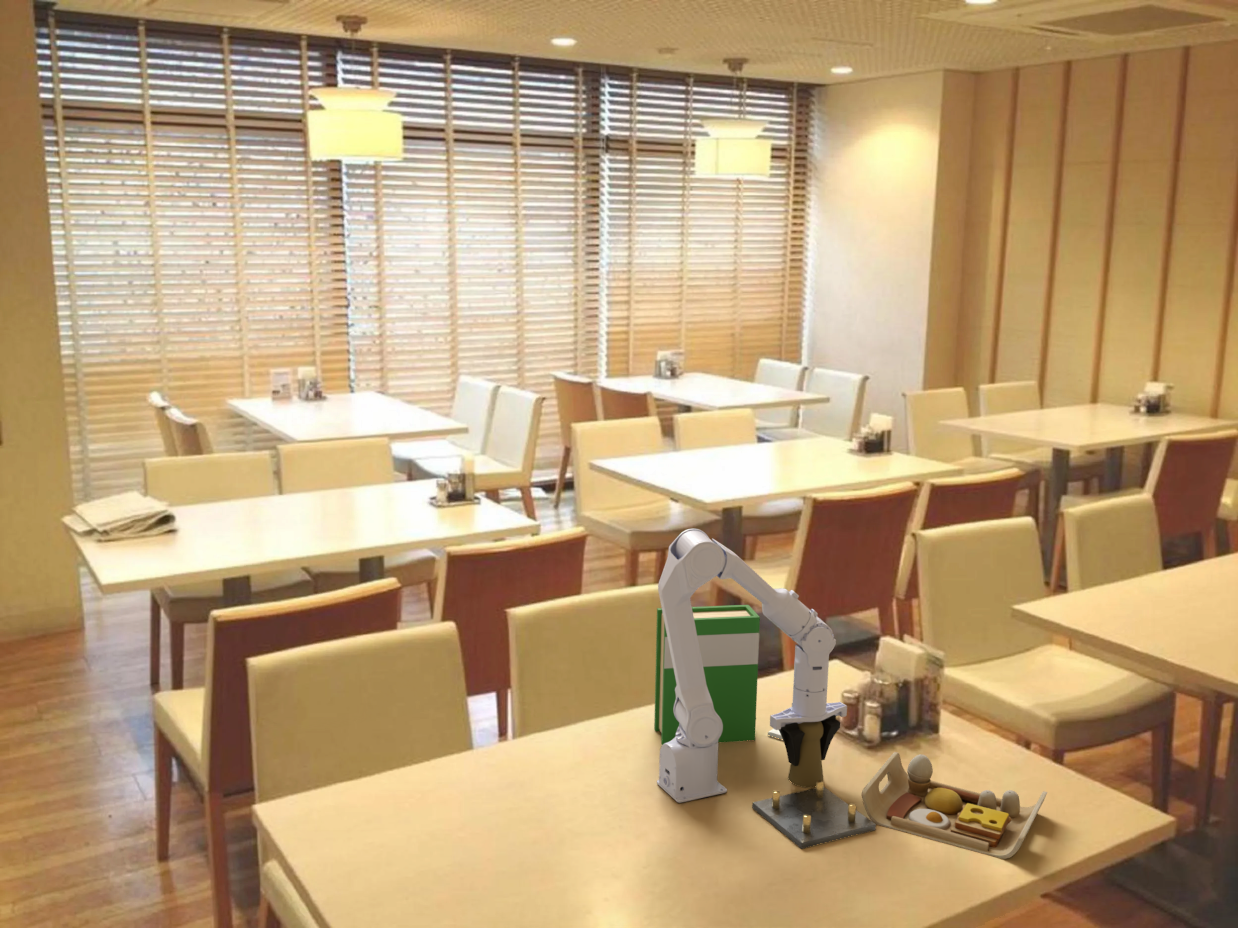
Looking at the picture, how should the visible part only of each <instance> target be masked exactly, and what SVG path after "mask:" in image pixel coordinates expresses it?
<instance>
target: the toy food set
mask: <svg viewBox="0 0 1238 928" xmlns="http://www.w3.org/2000/svg"><path fill="white" fill-rule="evenodd" d="M933 769H934V768H933V765H932V762H931V760H930V758H929V757H928V756H927V755H925V754H921V753H920V754H917V755H915V756H914V757H913V758H912V759H911V760H910V761H909V763H908V766H907V769H906V770H905V769H904V767H903V764H902V760H901V754H900V753H899V752H896V751H893V753H892V754H891V755H890V757H889V758H887V760H886V761H885V763H883V765H882V766H881V768H879V770H878V771H877V772H876V773H875V774H874V776H873V777H872V778H871V779H870V781H869V782H868V783H866V785H865V786H864V788H863V789H862V791H861V800H862V804H863V807H864V809H865V812H866V813H867V816H868V817H869V820H871V821H872V822H873V823H875V824H876V826H880V827H881V826H882V827H885V828H888V827H889V828H888V829H891V830H892V829H893V830H896V831H900V832H902V833H906V832H907V834H910V833H911V835H914V836H917V835H918V837H921V836H922V837H921V838H924V839H928V840H933V841H936V842H940V843H943V844H946V845H950V846H954V847H957V848H958V847H959V848H962V849H966V850H969V851H973V852H975V853H976V852H977V853H979V854H984V855H987V856H990V857H993V858H994V857H995V858H998V859H1001V860H1006V859H1009V858H1011V857H1013V856H1015V855H1016V853H1018V851H1019V850H1020V848H1021V846H1022V845H1023V842H1024V841H1025V839H1026V837H1027V834H1028V833H1029V831H1030V828H1031V827H1032V824H1033V823H1034V820H1035V818H1036V817H1037V815H1038V813H1039V811H1040V809H1041V807H1042V805H1043V803H1044V801H1045V799H1046V796H1047V794H1048V792H1047V791H1045V790H1044V791H1042V792H1041V794H1040V796H1039V797H1038V800H1037V801H1036V803H1034V805H1032V806H1021V805H1020V804H1021V803H1020V796H1019V794H1018V793H1017V792H1016V791H1015V790H1010V789H1009V790H1006V791H1004V792H1003V794H1002V798H999V797H997V796H996V794H995V793H994V792H993V791H991V790H990V789H986V790H982V791H981V793H980V792H976V791H973V790H968V789H965V788H961V787H957V786H953V785H950V784H945V783H942V782H938V781H934V780H931V778H932V775H933ZM906 771H907V772H906ZM886 775H887V783H885V785H884V786H883V787H882V789H880V783H881V782H882V781H883V780H884V778H885V777H886ZM880 790H881V791H880Z"/></svg>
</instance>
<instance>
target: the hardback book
mask: <svg viewBox="0 0 1238 928" xmlns="http://www.w3.org/2000/svg"><path fill="white" fill-rule="evenodd" d="M692 611H693V616H694V622H695V627H696V632H697V637H698V643H699V648H700V653H701V659H702V664H703V669H704V674H705V680H706V685H707V688H708V691H709V694H710V696H711V699H712V702H713V707H714V710H715V712H716V713H717V714H718V716H719V717H720V718H721V720H722V724H723V731H722V734H721V736H720V738H719V739H718V742H721V743H732V742H733V743H735V742H749V740H754V741H755V740H756V728H757V727H756V724H757V722H756V721H757V719H756V718H757V700H758V699H757V697H758V675H759V674H758V672H759V652H760V651H759V650H760V649H759V647H760V622H761V620H760V619H761V616H759V615H758V614H757V612H756V611H755V610H754V608H752V607H751V606H750V605H749V604H735V605H734V604H733V605H732V604H731V605H730V604H729V605H710V606H706V605H705V606H692ZM655 631H656V635H655V636H656V637H655V638H656V641H655V642H656V643H655V674H654V675H655V677H654V678H655V680H654V681H655V683H654V684H655V686H654V723H653V724H654V726H653V727H654V728H653V729H654V732H660V733H661V739H660V741H661V746H662V745H663V744H664V743H667V742H669V741H671V740H672V739H674V738H675V737H676V732H677V729H678V727H679V722H678V721H677V719H676V718H675V715H674V711H673V708H674V704H675V700H676V693H675V688H676V686H677V684H676V679H675V673H674V668H673V663H672V658H671V653H670V648H669V643H668V638H667V633H666V627H665V622H664V617H663V612H662V607H661V608H660V607H657V608H656V630H655ZM747 740H748V741H747Z"/></svg>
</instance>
